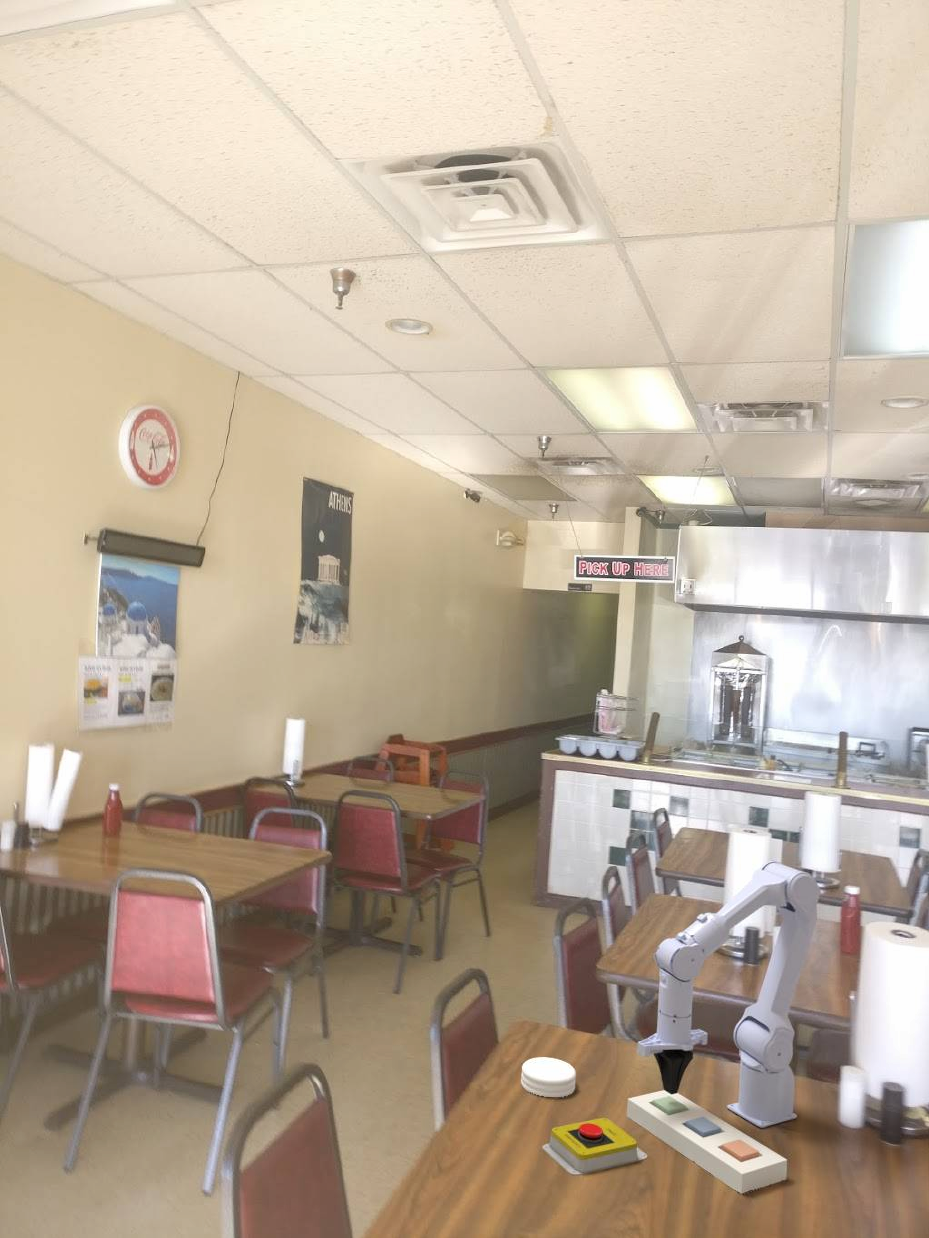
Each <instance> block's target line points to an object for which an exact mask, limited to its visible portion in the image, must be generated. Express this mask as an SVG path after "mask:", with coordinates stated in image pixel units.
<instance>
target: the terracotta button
mask: <svg viewBox="0 0 929 1238" xmlns="http://www.w3.org/2000/svg"><path fill="white" fill-rule="evenodd" d="M722 1150H723V1151H724V1152H726V1153H728V1154H729V1155H731V1156H732V1157H734V1158H735V1159H737V1160H738V1161H740V1162H744V1161H747V1160H750V1159H754V1158H757V1157H759V1151H758V1150H756V1149H754V1148H753V1147H751V1146H750V1145H748V1144H746V1143H745V1142H743V1141H742V1140H740V1139H739V1140H735V1141H732V1142H728V1143H725V1144H722Z"/></svg>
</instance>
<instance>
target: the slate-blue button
mask: <svg viewBox="0 0 929 1238" xmlns="http://www.w3.org/2000/svg"><path fill="white" fill-rule="evenodd" d="M685 1126H686V1127H687V1128H689V1129H690V1130H692V1131H693V1132H695V1133H697V1134H698V1135H700V1136H701V1137H703V1138H704V1137H708V1136H712V1135H715V1134H719V1133H721V1127H719V1126H717V1125H716V1124H714V1123H712V1122H711V1121H709V1120H708V1119H706V1118H704V1117H700V1118H697V1119H693V1120H689V1121H686V1125H685Z"/></svg>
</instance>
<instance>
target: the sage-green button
mask: <svg viewBox="0 0 929 1238" xmlns="http://www.w3.org/2000/svg"><path fill="white" fill-rule="evenodd" d="M652 1105H653V1106H655V1107H656V1108H658V1109H659V1110H661V1111H662V1112H664V1113H666V1114H667V1115H672V1114H676V1113H680V1112H684V1111H686V1106H685V1105H683V1104H682V1103H680V1102H679V1101H677V1100H675V1099H674V1098H672V1097H670V1096H668V1097H664V1098H660V1099H656V1100H653V1103H652Z"/></svg>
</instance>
